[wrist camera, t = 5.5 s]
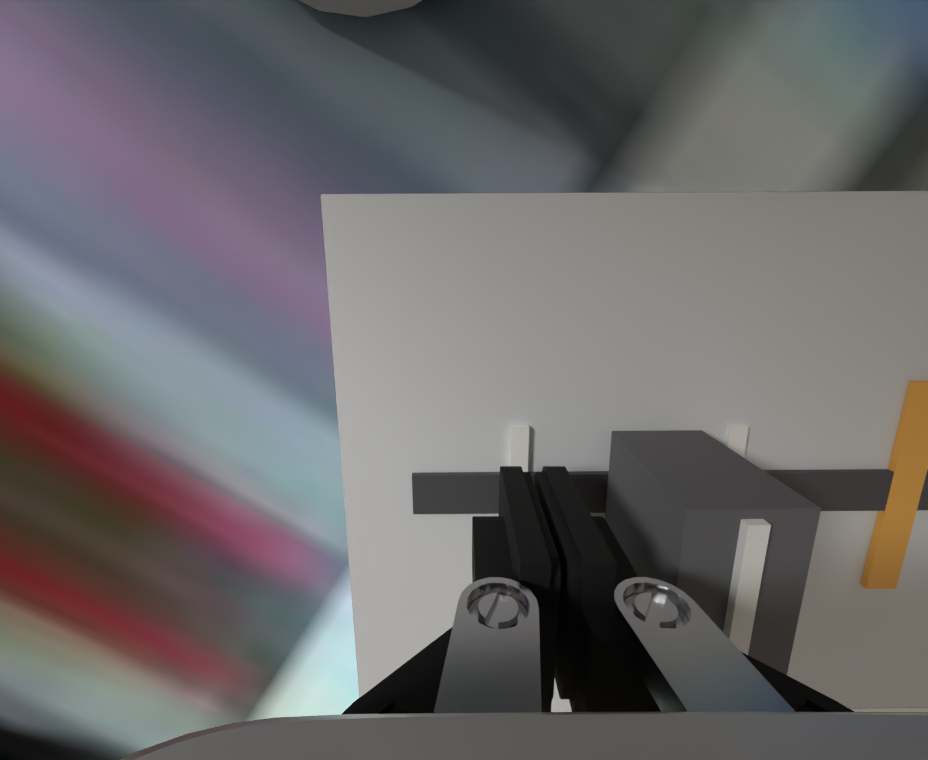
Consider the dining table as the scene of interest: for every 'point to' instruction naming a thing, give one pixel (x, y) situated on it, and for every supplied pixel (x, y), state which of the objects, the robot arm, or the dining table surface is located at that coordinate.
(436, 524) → the console board
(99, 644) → the dining table surface
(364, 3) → the can
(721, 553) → the fader knob
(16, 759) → the dining table surface
